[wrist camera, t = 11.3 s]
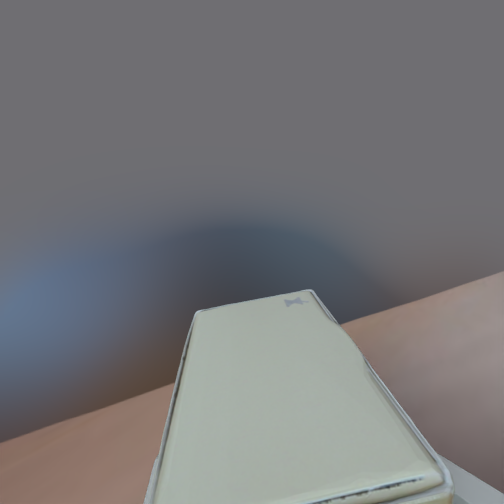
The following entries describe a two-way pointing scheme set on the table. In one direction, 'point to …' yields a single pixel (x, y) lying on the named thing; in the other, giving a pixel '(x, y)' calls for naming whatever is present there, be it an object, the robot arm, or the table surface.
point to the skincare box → (288, 416)
